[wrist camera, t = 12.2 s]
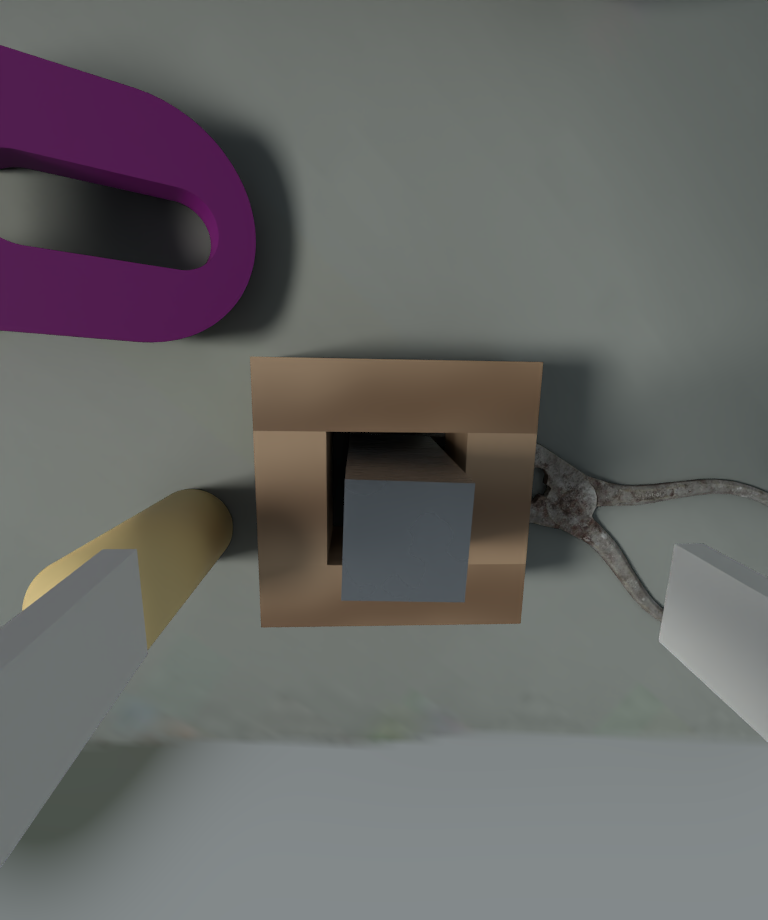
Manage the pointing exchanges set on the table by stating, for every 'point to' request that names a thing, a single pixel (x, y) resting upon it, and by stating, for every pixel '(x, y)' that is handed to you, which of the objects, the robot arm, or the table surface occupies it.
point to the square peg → (404, 521)
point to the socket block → (389, 410)
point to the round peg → (157, 553)
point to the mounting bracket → (128, 168)
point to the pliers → (580, 495)
